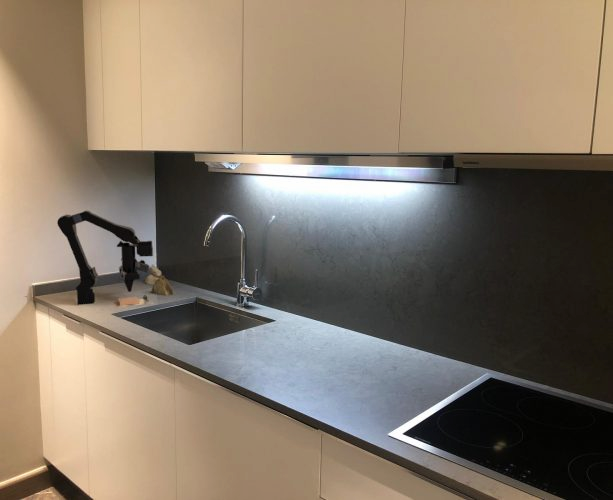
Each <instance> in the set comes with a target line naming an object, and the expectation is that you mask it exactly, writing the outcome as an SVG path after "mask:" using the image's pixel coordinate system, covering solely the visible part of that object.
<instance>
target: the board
mask: <svg viewBox="0 0 613 500" xmlns="http://www.w3.org/2000/svg"><path fill="white" fill-rule="evenodd" d="M147 298H148V299H149V300H151V299H150V297H147ZM138 299H139V304H130V305H120V304H119V303H118V300H112V301H111V304H112V305H113V307H114V308H118V307H119V308H120V307H129V306H139V305H140V306H143V305H147V304H146V303H145V302H144V300H145V298H144V297H143V298H138ZM150 305H153V302H152V303H151V304H150Z"/></svg>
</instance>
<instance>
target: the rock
mask: <svg viewBox="0 0 613 500" xmlns="http://www.w3.org/2000/svg"><path fill="white" fill-rule="evenodd" d="M174 291H175V290H174V289H173V287H172V286H171V284H170V282H169V281H168V280H167V278H166V277H165V275H161V276H160V278H159V279H158V280H157V281H156V282H155V283H154V284H152V287H151V293H152V294H158V295H163V296H172V295H175V292H174Z"/></svg>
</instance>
